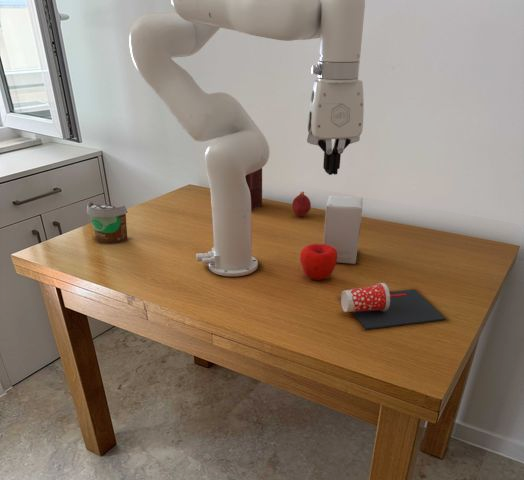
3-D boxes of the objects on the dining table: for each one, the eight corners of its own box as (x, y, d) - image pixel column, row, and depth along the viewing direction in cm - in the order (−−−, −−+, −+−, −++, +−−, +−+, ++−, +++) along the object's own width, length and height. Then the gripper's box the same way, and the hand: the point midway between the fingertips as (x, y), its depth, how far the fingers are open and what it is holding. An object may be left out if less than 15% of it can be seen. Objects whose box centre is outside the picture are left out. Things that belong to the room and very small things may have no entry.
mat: (365, 329, 106) (366, 328, 105) (342, 299, 117) (342, 297, 117) (444, 320, 109) (445, 318, 109) (414, 290, 120) (414, 289, 120)
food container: (82, 241, 146) (75, 206, 141) (96, 234, 151) (90, 200, 146) (119, 247, 143) (113, 212, 137) (131, 239, 147) (126, 205, 142)
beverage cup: (337, 295, 113) (396, 289, 115) (344, 320, 111) (404, 313, 113) (344, 281, 107) (406, 275, 110) (352, 307, 105) (415, 300, 108)
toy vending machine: (249, 213, 167) (248, 120, 151) (225, 206, 173) (221, 116, 157) (267, 207, 172) (268, 116, 157) (243, 200, 178) (241, 112, 163)
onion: (310, 220, 161) (312, 194, 157) (292, 219, 162) (293, 194, 157) (309, 213, 166) (310, 189, 162) (291, 213, 166) (292, 189, 162)
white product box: (356, 264, 133) (362, 207, 125) (321, 262, 134) (325, 205, 126) (357, 251, 140) (363, 196, 132) (325, 248, 142) (328, 194, 134)
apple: (309, 288, 122) (311, 257, 117) (293, 273, 128) (294, 244, 124) (342, 281, 125) (345, 251, 120) (324, 267, 131) (326, 238, 127)
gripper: (305, 75, 91) (301, 180, 101) (384, 73, 94) (372, 175, 104) (294, 71, 97) (291, 170, 107) (367, 69, 100) (358, 166, 110)
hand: (331, 172), depth 106 cm, fingers closed
